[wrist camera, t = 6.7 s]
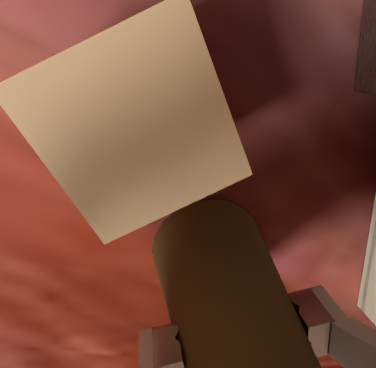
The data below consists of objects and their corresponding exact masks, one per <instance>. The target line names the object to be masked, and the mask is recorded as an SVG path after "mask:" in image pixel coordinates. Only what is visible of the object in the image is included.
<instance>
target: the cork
mask: <svg viewBox="0 0 376 368" xmlns="http://www.w3.org/2000/svg"><path fill="white" fill-rule="evenodd" d="M152 252H153V257H154V262H155V266H156V270H157V273H158V277H159V280H160V284H161V288H162V291H163V295H164V298H165V302H166V305H167V309H168V312H169V316H170V319H171V323H174V322H176V323H177V325H178V331H179V342H180V344H181V348H182V354H183V360H184V365H185V368H321V366H320V364H319V362H318V359H317V357H316V355H315V353H314V351H313V348H312V346H311V344H310V342H309V340H308V337H307V335H306V333H305V331H304V328H303V326H302V324H301V322H300V320H299V317H298V315H297V313H296V311H295V309H294V306H293V304H292V302H291V300H290V298H289V295H288V293H287V291H286V289H285V287H284V284H283V282H282V280H281V278H280V275H279V273H278V271H277V269H276V267H275V264H274V262H273V260H272V258H271V256H270V253H269V251H268V249H267V247H266V245H265V242H264V240H263V238H262V236H261V234H260V231H259V229H258V227H257V225H256V223H255V220H254V218H253V217H252V216H251V215H250V214H249V213H248V212H247V211H246V210H245V209H244V208H243V207H241V206H239V205H237V204H235V203H232V202H230V201H226V200H217V199H208V200H202V201H197V202H194V203H191V204H189V205H187V206H185V207H183V208H181V209H179V210H177V211H175V212H174V213H173V214H172V215H171V216H170V217H168V218H167V219H166V220H165V221H164V222H163V223H162V225H161V227H160V229H159V230H158V232H157V234H156V235H155V239H154V244H153V250H152Z"/></svg>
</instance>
